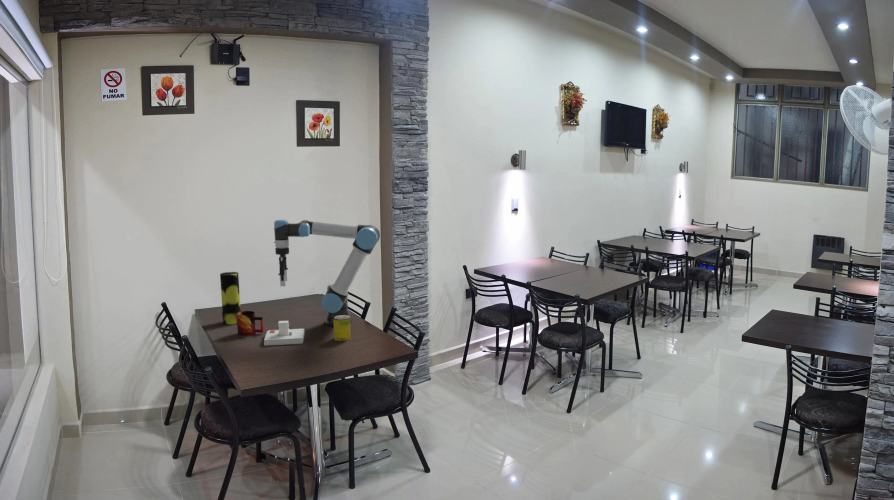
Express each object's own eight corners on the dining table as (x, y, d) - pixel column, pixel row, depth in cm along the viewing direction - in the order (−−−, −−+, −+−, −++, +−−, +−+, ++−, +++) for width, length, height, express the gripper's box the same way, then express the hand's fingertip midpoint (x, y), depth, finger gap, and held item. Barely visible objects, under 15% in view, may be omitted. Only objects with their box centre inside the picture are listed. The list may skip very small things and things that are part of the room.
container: (226, 325, 365) (223, 276, 360) (220, 322, 373) (217, 273, 368) (244, 322, 371) (241, 273, 367) (237, 318, 380) (234, 271, 375)
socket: (304, 333, 349) (304, 327, 348) (302, 343, 331) (302, 336, 331) (267, 335, 345) (267, 329, 345) (264, 345, 328) (263, 339, 327)
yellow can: (354, 337, 342) (353, 316, 340) (343, 341, 334) (343, 320, 332) (341, 335, 346) (340, 314, 344) (330, 339, 338) (329, 318, 336)
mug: (263, 334, 348) (262, 313, 346) (237, 336, 344) (236, 316, 342) (263, 329, 357) (262, 309, 355) (238, 332, 353) (236, 311, 351)
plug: (289, 338, 341) (288, 320, 339) (288, 340, 337) (287, 322, 335) (279, 338, 340) (279, 321, 338) (279, 340, 336) (278, 323, 334)
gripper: (277, 244, 362) (279, 279, 366) (273, 250, 338) (275, 288, 341) (290, 243, 363) (292, 278, 367) (287, 250, 339) (289, 288, 343)
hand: (283, 283), depth 354 cm, fingers open, 13 cm apart
